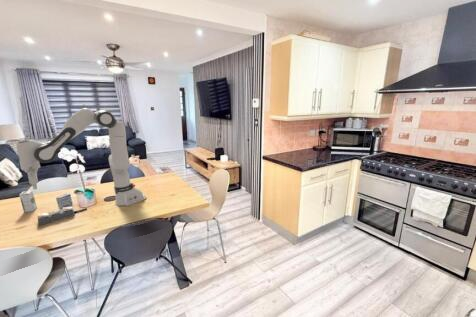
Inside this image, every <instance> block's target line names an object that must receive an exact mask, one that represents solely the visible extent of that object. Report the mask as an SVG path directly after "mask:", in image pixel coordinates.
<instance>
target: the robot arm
mask: <svg viewBox="0 0 476 317" xmlns="http://www.w3.org/2000/svg"><path fill="white" fill-rule="evenodd" d="M93 124H97V125H99V126H100V127H104V128H107V129H108V137H109V138H108V140H109V141H108V142H109V148H110V154H109V156H108V164H109V168H110V171H111V174H112V178H113V179H112V180H113V183H114V184H113V185H114V186H113V189H114V194H115V203H114V205H116V206H119V207H121V206H126V207H128V206H132V205H134V204H136V203H137V204H138V203H139V202H142V201H144V200H146V199H147V195H145V194H144V193H143V192H142V190H141V189H140V188H137V187H136V184H134V183H132V182H131V179H130V174H129V171H128V168H129V167H130V159H129V152H128V148H127V132H126V131H127V130H126V126H125V123H124V122H123V121H121V120H118V119H116V118H115V116H114V114H112V113H111V112H110V111H108V110H105V109H103V110H102V109H101V110H96V111H93V110H91V109H90V108H87V107H83V108H81V109H79V110H77V111H76V112H75V113H73V114H72V115H71V116H70V117H68V119H66V121H65V123H64V124H63V125H62V128H61V131H60V132H59V133H58V135H56V136H55V137H54V138H53V139H51V141H50V142H48V143H46V142H40V141H37V140H34V139H31V138H30V139H24V140H21V141H19V142H17V143H16V154H17V156H18V159H19V165H20V169H21V171H24V173H27V178H28V182H29V185H32V189H33V190H38V186H37V185H38V183H39V182H38V171H39V169H41V164H40V163H43V164H48V163H52V162H53V161H55V160H56V157H57V155H58V153H59V151H60V150H61V149H62V148H63V147H64V146H65V145H66V144H67V143H68V142H70V140H72V139H73V138H75V137H77V136H79V135H80V134H81V133H82V132H84V131H85V130H87V128H88V127H90V126H91V125H93Z"/></svg>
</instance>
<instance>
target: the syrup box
mask: <svg viewBox="0 0 476 317" xmlns="http://www.w3.org/2000/svg"><path fill="white" fill-rule="evenodd" d="M18 196H19V199H20V202H21V203H20V204H21V205H22V210H23V213H30V212H34V211H35V210H36V209H37V208H38V207H37V203H36V198H35V195H34V192H33V190H25V191H24V190H23V191H22V192H21V193H20V194H19V195H18Z"/></svg>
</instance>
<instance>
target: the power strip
mask: <svg viewBox="0 0 476 317" xmlns="http://www.w3.org/2000/svg"><path fill="white" fill-rule="evenodd" d="M70 207H72V208H73V206H71V205H70ZM59 209H60V212H58V213H57V214H54V215H52V216H51V214H50V212H51V211H49V212H47V213H48V214H49V216H47V217H44V218H42V217H38V216H37V222H38V226H43V225H46V223H47V224H51V223H53V221H54V222H57V221H60V220H64V219H66V218H70V217H74V216H75V214H76V213H80V212H83V211H87V210H88V208H87V207H85V208H82V209H79V210H75V211H74V208H73V209H72V210H69V211H66V210H64V211H63V209H62V208H59Z"/></svg>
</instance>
